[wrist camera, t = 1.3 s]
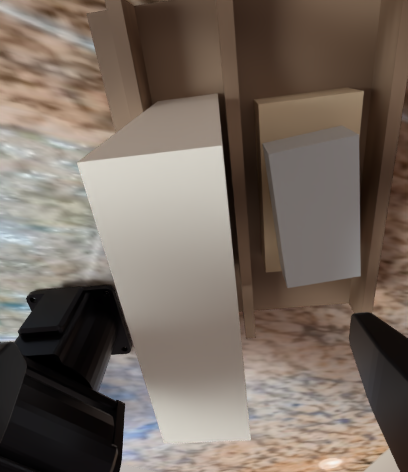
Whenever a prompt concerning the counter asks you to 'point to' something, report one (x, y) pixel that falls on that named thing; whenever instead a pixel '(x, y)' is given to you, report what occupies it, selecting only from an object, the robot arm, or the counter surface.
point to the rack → (265, 86)
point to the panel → (175, 264)
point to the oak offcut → (292, 124)
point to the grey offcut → (316, 204)
